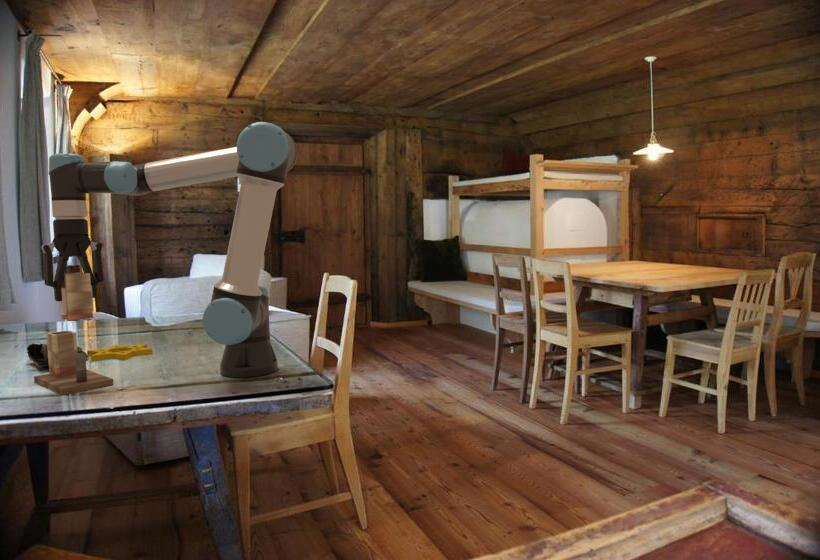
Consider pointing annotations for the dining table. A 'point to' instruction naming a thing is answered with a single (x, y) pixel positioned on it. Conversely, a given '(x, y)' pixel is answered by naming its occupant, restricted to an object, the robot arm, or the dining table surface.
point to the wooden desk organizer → (68, 366)
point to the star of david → (119, 352)
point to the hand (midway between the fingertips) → (77, 312)
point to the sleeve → (78, 296)
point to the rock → (43, 354)
